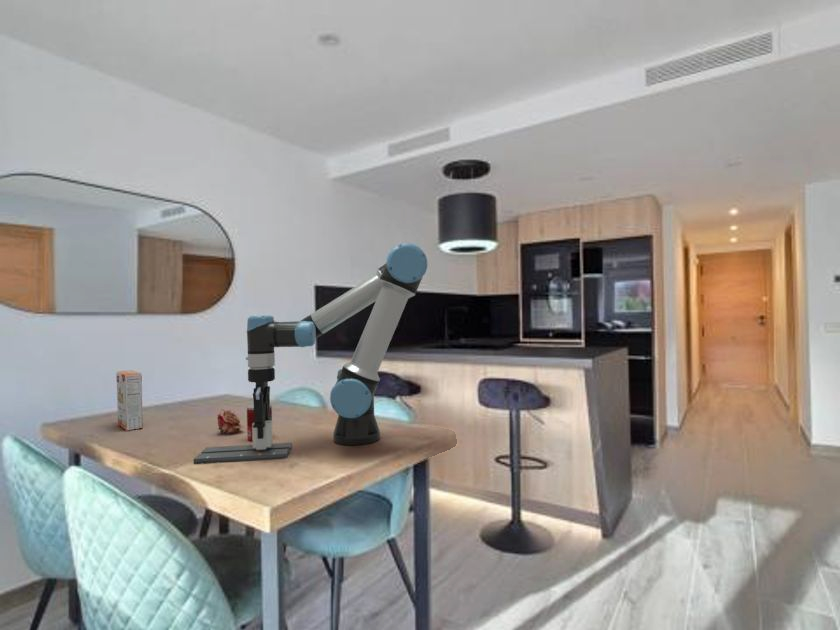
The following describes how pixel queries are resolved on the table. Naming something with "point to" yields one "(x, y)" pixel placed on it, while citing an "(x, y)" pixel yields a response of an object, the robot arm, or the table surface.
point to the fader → (268, 434)
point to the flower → (228, 421)
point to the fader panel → (242, 453)
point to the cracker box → (129, 400)
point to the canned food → (252, 420)
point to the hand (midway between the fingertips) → (262, 446)
